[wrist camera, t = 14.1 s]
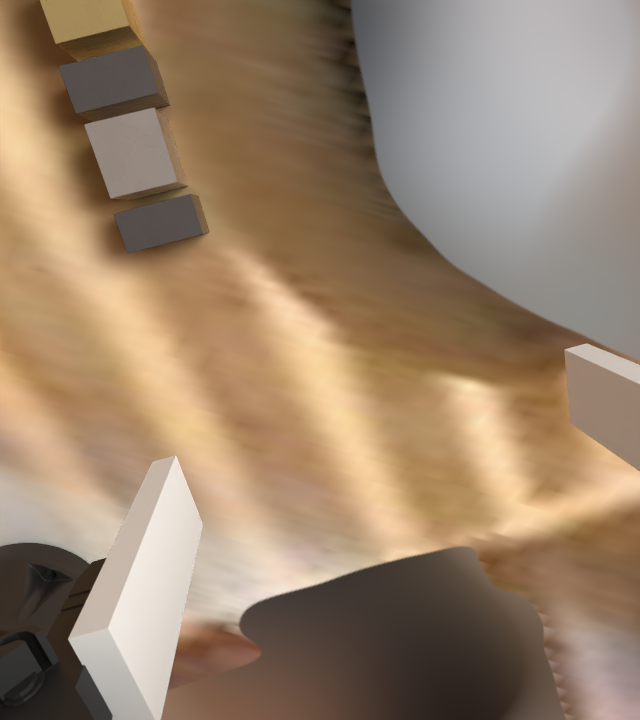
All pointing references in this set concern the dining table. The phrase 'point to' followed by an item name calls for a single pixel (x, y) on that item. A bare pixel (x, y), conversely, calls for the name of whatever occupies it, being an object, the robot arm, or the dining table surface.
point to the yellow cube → (93, 26)
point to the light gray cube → (136, 154)
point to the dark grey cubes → (123, 96)
